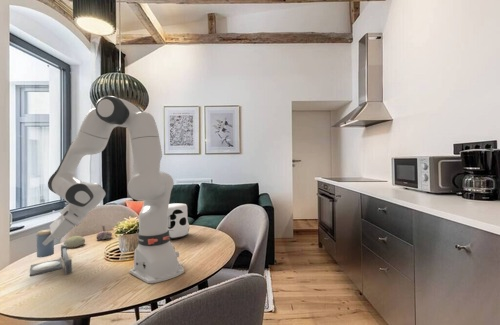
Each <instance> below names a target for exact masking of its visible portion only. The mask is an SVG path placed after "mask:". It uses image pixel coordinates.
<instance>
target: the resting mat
mask: <svg viewBox="0 0 500 325" xmlns="http://www.w3.org/2000/svg"><path fill="white" fill-rule="evenodd" d="M61 269H63V263H62V259H61V258H57V259H52V260H47V261H44V262H43V261H42V262H39V263H36V264H35V263H33V264H31V265H30V270H29V277H32V276H37V275H41V274H42V275H43V274H45V273H49V272H53V271H58V270H59V271H60V270H61Z"/></svg>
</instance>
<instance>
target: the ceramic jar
mask: <svg viewBox="0 0 500 325" xmlns="http://www.w3.org/2000/svg"><path fill="white" fill-rule="evenodd" d="M50 234H51V232H50V228H48V229H42V230H39V231H37V233H36V257H37V258H47V257H51V256H52V255H54V254H55V241H54V240H55V239H54V240H52V241H51V242H49V243H48V244H47V245H46V246H45V245H43V244H42V242H43V241H44V240H45V239H47V238H48V237H49V235H50Z"/></svg>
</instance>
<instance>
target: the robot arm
mask: <svg viewBox="0 0 500 325" xmlns="http://www.w3.org/2000/svg"><path fill="white" fill-rule="evenodd" d="M157 126H158V125H157V122H156V121H155V118H154V116H153V115H152V114H151V113H149V112H146V111H143V110H142V109H141V108H140V107H139V105H136V104H134V103H132V102H130V101H128V100H125V99H123V98H119V97H117V96H113V95H105V96H102V97H100V98H99V99H98V100H97V101H96V104H95V107H94V108H92V109H90V110H88V112H87V114H86V115H85V117H84V119H83V121H82V123H81V125H80V127H79V129H78V132H77V135H76V137H75V138H74V140H73V141H72V142H71V143H70V145H69V146H68V147H67V150H65V151H66V152H65V153H64V155H63V157H62V160H61V161H60V163H59V165H58V167H57V169H56V170H55V172H53V173H52V175H50V177H49V179H48V181H47V187H48V190H50V191H51V192H52V193H54V194H56V195H57V196H58V197H60V198H61V199H63V200H64V201H65V202H67V203H68V204H67V205H66V206H64V208H63V209H61V211H59V213H60V214H61V215H59V216H58V217H57V218H56V219H55V220H54V221H52V222H51V224H49V229H50V232H51V234H50V235H49V237H48V238H47V239H45V240H44V241H43V242H42V244H43V245H45V246H46V245H47V244H48V243H49V242H51V241H52V240H58V241H60V240H61V239H62V238H64V237H65V236H66V235H67V234H68V233H70V232H71V231H72V230H73V229H74V228H75V227H78V226H79V225H80V224H81V223H82V221H83V220H84V219H85V218H86V217H87V216H88V214H89V213H90V212H91V211H92V210H93V209H95V208H96V207H97V206H99V204H100V203H101V202H102V201H103V200H104V198H105V197H106V191H105V189H104V188H103V187H102V186H101V185H100V184H99V183H97V182H92V183H91V182H86V181H82V180H81V179H78V177H77V176H76V174H75V173H76V171H77V169H78V167H79V164H80V163H81V160H82V158H83V157H84V156H88V155H91V156H92V155H97V154H100V153H102V152H103V151H104V150H105V149H106V147H107V145H108V142H109V140H110V136H111V134H112V131H113V130H114V129H115V128H117V127H119V128H121V129H128V131H129V138H130V143H131V152H132V156H133V157H132V158H133V159H132V162H133V164H132V172H131V173H132V174H131V177H130V180H129V181H128V183H127V192H128V195H129V196H130V197H131V198H132V199H133V200H135V201H139V202H141V201H142V203H143V204H142V207H141V210H140V212H139V213H138V235H137V242H138V243H137V244H138V245H137V247H136V248H135V249H134V252H133V253H134V254H133V255H134V256H133V267H132V268H130V270H129V273H130V275H132V276H134V277H137V278H138V279H140V280H141V281H144V282H145V283H147V284H155V283H160V282H164V281H168V280H171V279H173V278H175V277H179V276H180V275H182V274H184V273H185V269H184V267H183V265H182V264H181V263H180V261H179V260H178V258H180V252H179V251H178V250H177V251H175V248H176V247H175V245H174V246H173V244H172V242H171V239H170V234H169V230H168V206H169V204H170V200H171V195H172V194H171V193H172V190H173V188H174V184H175V183H174V182H175V181H174V178H173V177H172V176H171V175H170V174H168V172H164V171H161V169H160V168H161V160H162V158H163V153H162V152H163V151H162V146H161V138H160V134H159V133H160V132H159V130H158V127H157Z"/></svg>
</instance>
